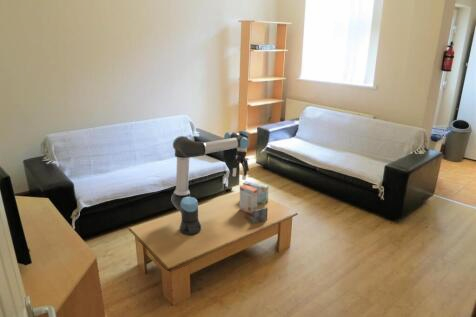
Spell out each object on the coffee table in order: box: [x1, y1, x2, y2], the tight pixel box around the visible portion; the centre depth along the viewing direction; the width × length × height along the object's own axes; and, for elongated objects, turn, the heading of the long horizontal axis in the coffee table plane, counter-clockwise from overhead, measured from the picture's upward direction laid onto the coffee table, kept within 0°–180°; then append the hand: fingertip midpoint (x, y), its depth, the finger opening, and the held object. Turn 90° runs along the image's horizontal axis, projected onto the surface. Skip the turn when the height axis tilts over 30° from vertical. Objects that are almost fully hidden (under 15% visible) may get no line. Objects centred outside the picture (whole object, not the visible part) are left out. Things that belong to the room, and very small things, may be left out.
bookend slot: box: [244, 206, 269, 224], centre depth 262 cm, size 12×13×10 cm
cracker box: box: [239, 184, 258, 216], centre depth 270 cm, size 14×6×21 cm, turn 45°
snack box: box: [242, 180, 270, 205], centre depth 289 cm, size 21×6×15 cm, turn 63°
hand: (238, 178), depth 269 cm, fingers open, 13 cm apart
